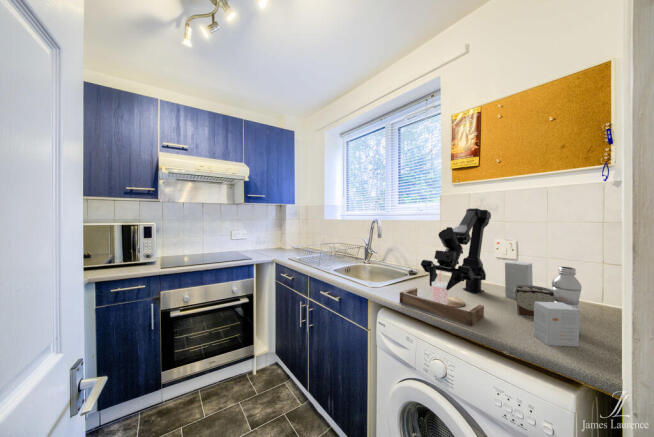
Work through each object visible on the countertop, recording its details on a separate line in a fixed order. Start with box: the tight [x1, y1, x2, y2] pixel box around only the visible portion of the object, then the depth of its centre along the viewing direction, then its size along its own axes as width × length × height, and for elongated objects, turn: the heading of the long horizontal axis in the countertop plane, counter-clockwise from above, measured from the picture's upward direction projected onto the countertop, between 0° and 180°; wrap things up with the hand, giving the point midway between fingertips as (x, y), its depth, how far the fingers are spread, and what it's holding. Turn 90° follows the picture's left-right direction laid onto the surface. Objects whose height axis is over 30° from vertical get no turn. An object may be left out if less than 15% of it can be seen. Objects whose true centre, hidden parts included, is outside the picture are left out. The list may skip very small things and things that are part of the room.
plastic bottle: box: [551, 266, 583, 333], centre depth 74 cm, size 6×7×20 cm
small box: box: [533, 302, 580, 348], centre depth 69 cm, size 8×6×10 cm
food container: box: [513, 284, 554, 318], centre depth 88 cm, size 12×6×10 cm, turn 71°
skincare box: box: [504, 260, 534, 300], centre depth 104 cm, size 8×7×16 cm
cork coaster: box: [447, 296, 466, 308], centre depth 99 cm, size 10×10×1 cm
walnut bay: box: [399, 286, 485, 327], centre depth 92 cm, size 11×27×4 cm, turn 39°
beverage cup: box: [431, 270, 449, 305], centre depth 92 cm, size 6×6×14 cm
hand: (438, 287), depth 92 cm, fingers closed on beverage cup, 6 cm apart
